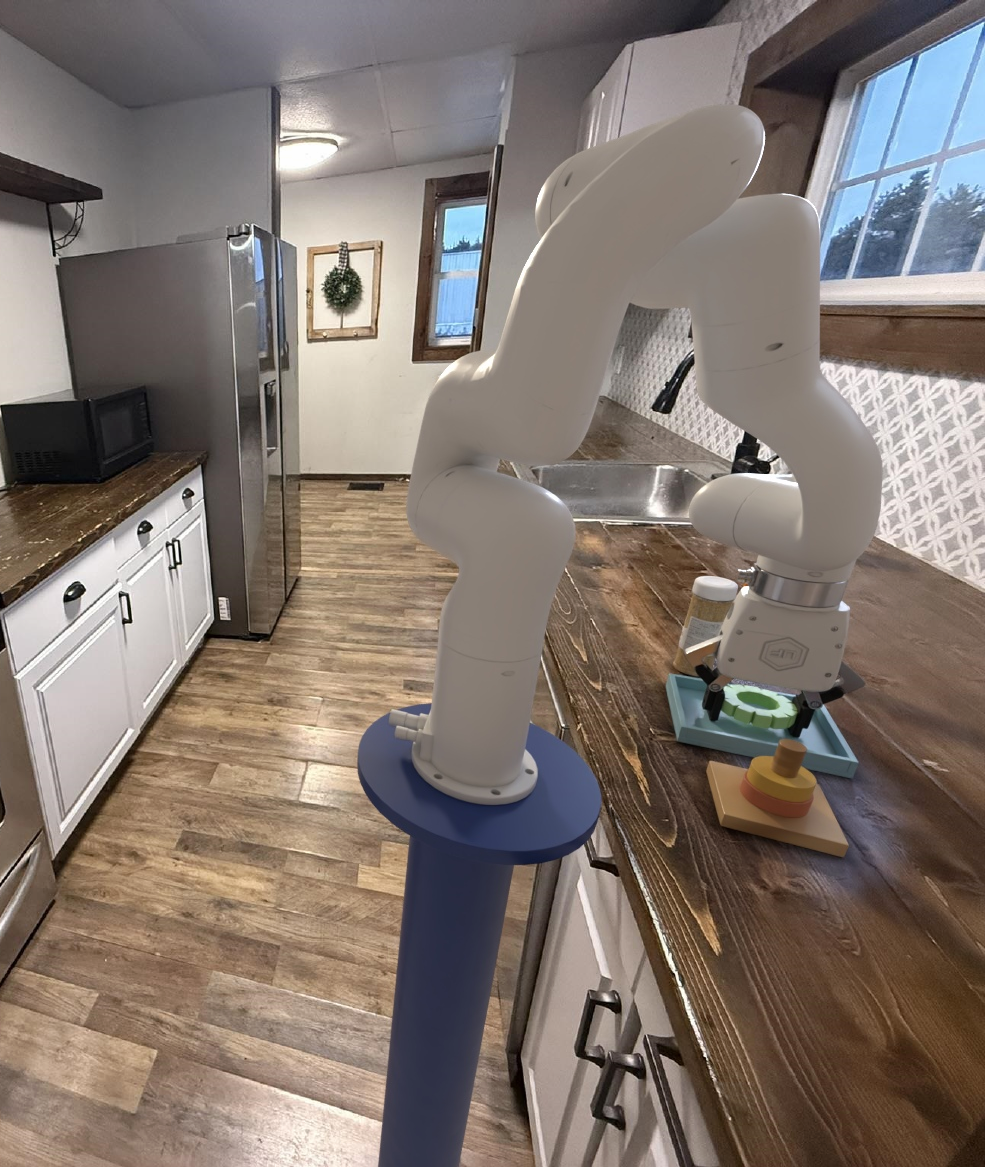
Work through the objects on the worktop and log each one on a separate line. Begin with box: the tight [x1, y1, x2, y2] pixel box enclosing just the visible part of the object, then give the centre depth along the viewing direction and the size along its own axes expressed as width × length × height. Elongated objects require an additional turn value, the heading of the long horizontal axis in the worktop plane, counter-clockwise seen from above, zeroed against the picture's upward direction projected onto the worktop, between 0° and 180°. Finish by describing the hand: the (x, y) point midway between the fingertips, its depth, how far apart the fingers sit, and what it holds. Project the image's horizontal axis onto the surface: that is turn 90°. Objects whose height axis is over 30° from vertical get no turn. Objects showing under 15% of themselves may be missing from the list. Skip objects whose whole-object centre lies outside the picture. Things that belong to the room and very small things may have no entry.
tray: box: [665, 673, 860, 779], centre depth 74 cm, size 15×13×2 cm
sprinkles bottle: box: [672, 575, 739, 677], centre depth 85 cm, size 5×5×13 cm
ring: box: [721, 684, 798, 729], centre depth 74 cm, size 7×7×2 cm
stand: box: [705, 739, 850, 858], centre depth 61 cm, size 9×9×8 cm
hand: (750, 721), depth 75 cm, fingers closed on ring, 6 cm apart
